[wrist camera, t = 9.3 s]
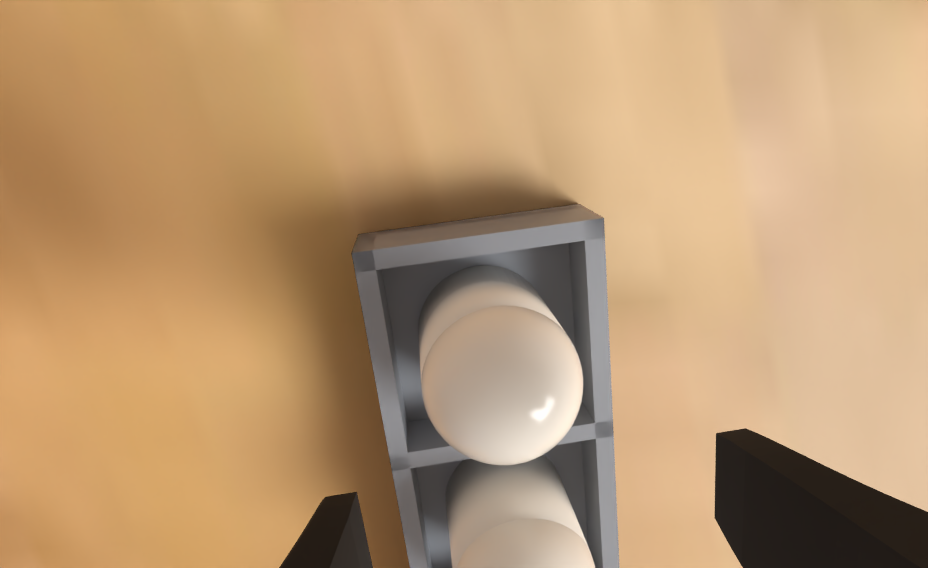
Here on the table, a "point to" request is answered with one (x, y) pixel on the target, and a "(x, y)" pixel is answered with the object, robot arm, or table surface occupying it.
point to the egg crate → (448, 471)
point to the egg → (496, 367)
